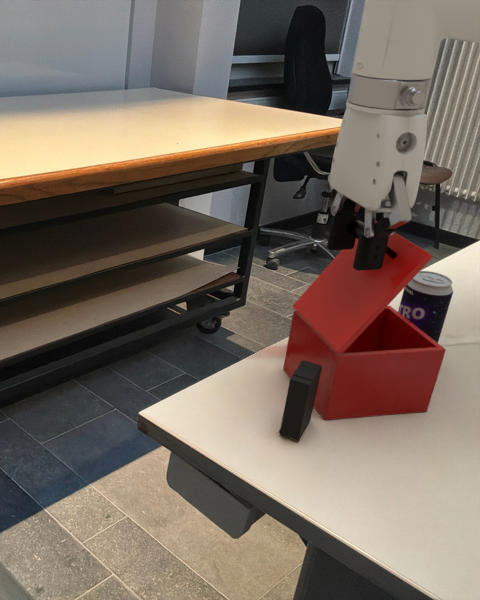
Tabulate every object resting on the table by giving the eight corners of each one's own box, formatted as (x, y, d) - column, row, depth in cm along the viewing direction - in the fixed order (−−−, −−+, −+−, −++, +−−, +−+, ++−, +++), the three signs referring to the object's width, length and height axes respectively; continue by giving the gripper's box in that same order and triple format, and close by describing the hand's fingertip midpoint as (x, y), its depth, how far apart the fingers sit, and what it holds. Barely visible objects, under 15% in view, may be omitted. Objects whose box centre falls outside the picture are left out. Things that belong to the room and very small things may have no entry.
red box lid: (374, 220, 82) (348, 198, 80) (433, 256, 72) (405, 232, 70) (296, 309, 86) (269, 290, 84) (341, 354, 76) (312, 334, 74)
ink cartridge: (291, 415, 80) (302, 357, 77) (310, 421, 79) (323, 363, 76) (277, 436, 76) (289, 376, 73) (297, 443, 75) (310, 383, 72)
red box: (375, 362, 92) (389, 305, 88) (427, 411, 82) (446, 349, 78) (282, 369, 89) (293, 310, 86) (324, 420, 79) (338, 356, 76)
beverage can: (390, 343, 96) (410, 266, 91) (434, 354, 94) (457, 275, 89) (384, 360, 92) (405, 280, 87) (429, 372, 90) (453, 291, 84)
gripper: (477, 109, 62) (429, 288, 70) (375, 81, 77) (345, 230, 85) (403, 111, 61) (362, 292, 69) (313, 81, 76) (289, 233, 84)
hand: (353, 257), depth 77 cm, fingers closed on red box lid, 5 cm apart
